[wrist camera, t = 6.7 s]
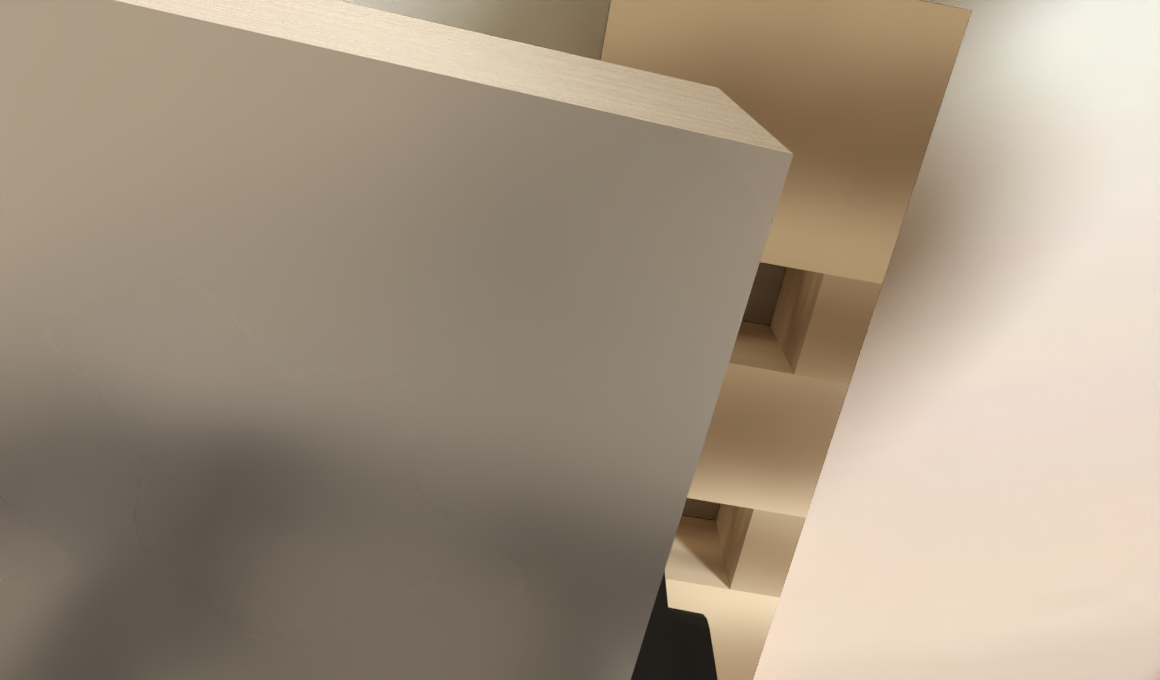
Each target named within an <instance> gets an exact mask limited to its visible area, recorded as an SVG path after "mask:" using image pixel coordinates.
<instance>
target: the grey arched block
mask: <svg viewBox="0 0 1160 680" xmlns="http://www.w3.org/2000/svg"><path fill="white" fill-rule="evenodd" d="M792 157H793V153H791V152H790V151H789V150H788V149H787V148H786V147H785V146H784V145H782V144H781V143H780V142H779V141H778V140H777V139H776V138H774V137H773V136H772V135H771V134H770V133H769V132H768V131H767V130H765V129H764V128H763V127H762V126H761V125H760V124H759V123H757V122H756V121H755V120H754V119H753V118H752V117H751V116H750V115H748V114H747V113H746V112H745V111H744V110H743V109H742V108H740V107H739V106H738V105H737V104H736V103H735V102H734V101H733V100H731V99H730V98H729V97H728V96H727V95H726V94H725V93H724V92H722V91H721V90H720V89H719V88H717V87H713V86H708V85H704V84H700V83H695V82H691V81H687V80H682V79H678V78H674V77H669V76H665V75H661V74H656V73H652V72H648V71H643V70H639V69H635V68H630V67H626V66H621V65H617V64H613V63H608V62H604V61H600V60H595V59H591V58H587V57H582V56H578V55H574V54H569V53H565V52H561V51H556V50H552V49H548V48H543V47H539V46H534V45H530V44H526V43H521V42H517V41H513V40H508V39H504V38H500V37H495V36H491V35H487V34H482V33H478V32H474V31H469V30H465V29H461V28H456V27H452V26H447V25H443V24H439V23H434V22H430V21H426V20H421V19H417V18H413V17H408V16H404V15H400V14H395V13H391V12H387V11H382V10H378V9H373V8H369V7H365V6H360V5H356V4H352V3H347V2H343V1H339V0H0V680H631V677H632V674H633V670H634V667H635V664H636V661H637V657H638V654H639V651H640V648H641V645H642V641H643V638H644V635H645V632H646V628H647V625H648V622H649V619H650V616H651V612H652V609H653V606H654V603H655V599H656V596H657V593H658V590H659V586H660V583H661V580H662V577H663V574H664V570H665V567H666V564H667V561H668V557H669V554H670V551H671V548H672V544H673V541H674V538H675V535H676V532H677V528H678V525H679V522H680V519H681V515H682V512H683V509H684V506H685V503H686V499H687V496H688V493H689V490H690V486H691V483H692V480H693V477H694V473H695V470H696V467H697V464H698V461H699V457H700V454H701V451H702V448H703V444H704V441H705V438H706V435H707V432H708V428H709V425H710V422H711V419H712V415H713V412H714V409H715V406H716V402H717V399H718V396H719V393H720V390H721V386H722V383H723V380H724V377H725V373H726V370H727V367H728V364H729V361H730V357H731V354H732V351H733V348H734V344H735V341H736V338H737V335H738V331H739V328H740V325H741V322H742V319H743V315H744V312H745V309H746V306H747V302H748V299H749V296H750V293H751V289H752V286H753V283H754V280H755V277H756V273H757V270H758V267H759V264H760V260H761V257H762V254H763V251H764V248H765V244H766V241H767V238H768V235H769V231H770V228H771V225H772V222H773V218H774V215H775V212H776V209H777V206H778V202H779V199H780V196H781V193H782V189H783V186H784V183H785V180H786V177H787V173H788V170H789V167H790V164H791V160H792Z"/></svg>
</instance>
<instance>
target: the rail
mask: <svg viewBox="0 0 1160 680" xmlns="http://www.w3.org/2000/svg"><path fill="white" fill-rule="evenodd" d="M971 12H972V10H967V9H961V8H956V7H951V6H946V5H941V4H936V3H930V2H925V1H920V0H611V3H610V9H609V14H608V20H607V26H606V31H605V37H604V43H603V48H602V54H601V59H600V61H604V62H608V63H613V64H617V65H621V66H626V67H630V68H635V69H639V70H643V71H648V72H652V73H656V74H661V75H665V76H669V77H674V78H678V79H682V80H687V81H691V82H695V83H700V84H704V85H708V86H713V87H717V88H719V89H720V90H721V91H722V92H724V93H725V94H726V95H727V96H728V97H729V98H730V99H731V100H733V101H734V102H735V103H736V104H737V105H738V106H739V107H740V108H742V109H743V110H744V111H745V112H746V113H747V114H748V115H750V116H751V117H752V118H753V119H754V120H755V121H756V122H757V123H759V124H760V125H761V126H762V127H763V128H764V129H765V130H767V131H768V132H769V133H770V134H771V135H772V136H773V137H774V138H776V139H777V140H778V141H779V142H780V143H781V144H782V145H784V146H785V147H786V148H787V149H788V150H789V151H790V152H791V153H793V157H792V160H791V164H790V167H789V170H788V173H787V177H786V180H785V183H784V186H783V189H782V193H781V196H780V199H779V202H778V206H777V209H776V212H775V215H774V218H773V222H772V225H771V228H770V231H769V235H768V238H767V241H766V244H765V248H764V251H763V254H762V257H761V260H760V262H762V263H768V264H773V265H779V266H784V267H787V269H786V272H785V276H784V279H783V283H782V287H781V290H780V294H779V297H778V301H777V304H776V308H775V311H774V315H773V319H772V322H771V326H767V325H761V324H756V323H750V322H744V321H742V322H741V325H740V328H739V331H738V335H737V338H736V341H735V344H734V348H733V351H732V354H731V357H730V361H729V364H728V367H727V370H726V373H725V377H724V380H723V383H722V386H721V390H720V393H719V396H718V399H717V402H716V406H715V409H714V412H713V415H712V419H711V422H710V425H709V428H708V432H707V435H706V438H705V441H704V444H703V448H702V451H701V454H700V457H699V461H698V464H697V467H696V470H695V473H694V477H693V480H692V483H691V486H690V490H689V493H688V496H687V498H691V499H697V500H703V501H709V502H715V503H721V504H720V508H719V511H718V515H717V518H716V521H713V520H707V519H701V518H695V517H689V516H683V515H681V519H680V522H679V525H678V528H677V532H676V535H675V538H674V541H673V544H672V548H671V551H670V554H669V557H668V561H667V564H666V567H665V580H666V590H667V600H668V607H670V608H675V609H680V610H685V611H690V612H695V613H701V614H704V616H705V617H706V618H707V620H708V624H709V628H710V634H711V640H712V646H713V653H714V659H715V665H716V671H717V678H718V680H753V678H754V675H755V672H756V669H757V666H758V662H759V659H760V656H761V653H762V650H763V647H764V644H765V641H766V638H767V635H768V632H769V629H770V626H771V623H772V620H773V617H774V614H775V611H776V607H777V604H778V601H779V598H780V595H781V592H782V589H783V586H784V583H785V580H786V577H787V574H788V571H789V568H790V565H791V562H792V559H793V555H794V552H795V549H796V546H797V543H798V540H799V537H800V534H801V531H802V528H803V525H804V522H805V519H806V516H807V513H808V510H809V507H810V504H811V500H812V497H813V494H814V491H815V488H816V485H817V482H818V479H819V476H820V473H821V470H822V467H823V464H824V461H825V458H826V455H827V452H828V449H829V445H830V442H831V439H832V436H833V433H834V430H835V427H836V424H837V421H838V418H839V415H840V412H841V409H842V406H843V403H844V400H845V397H846V394H847V390H848V387H849V384H850V381H851V378H852V375H853V372H854V369H855V366H856V363H857V360H858V357H859V354H860V351H861V348H862V345H863V342H864V339H865V335H866V332H867V329H868V326H869V323H870V320H871V317H872V314H873V311H874V308H875V305H876V302H877V299H878V296H879V293H880V290H881V287H882V284H883V280H884V277H885V274H886V271H887V268H888V265H889V262H890V259H891V256H892V253H893V250H894V247H895V244H896V241H897V238H898V235H899V232H900V228H901V225H902V222H903V219H904V216H905V213H906V210H907V207H908V204H909V201H910V198H911V195H912V192H913V189H914V186H915V183H916V180H917V177H918V173H919V170H920V167H921V164H922V161H923V158H924V155H925V152H926V149H927V146H928V143H929V140H930V137H931V134H932V131H933V128H934V125H935V122H936V118H937V115H938V112H939V109H940V106H941V103H942V100H943V97H944V94H945V91H946V88H947V85H948V82H949V79H950V76H951V73H952V70H953V67H954V63H955V60H956V57H957V54H958V51H959V48H960V45H961V42H962V39H963V36H964V33H965V30H966V27H967V24H968V21H969V18H970V15H971Z"/></svg>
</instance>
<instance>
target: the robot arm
mask: <svg viewBox="0 0 1160 680" xmlns="http://www.w3.org/2000/svg"><path fill="white" fill-rule="evenodd" d="M631 680H718V678H717V671H716V665H715V659H714V653H713V646H712V640H711V634H710V628H709V624H708V620H707V618H706V617H705V616H704V614H701V613H695V612H690V611H685V610H680V609H675V608H670V607H668V600H667V590H666V580H665V570H664V574H663V577H662V580H661V583H660V586H659V590H658V593H657V596H656V599H655V603H654V606H653V609H652V612H651V616H650V619H649V622H648V625H647V628H646V632H645V635H644V638H643V641H642V645H641V648H640V651H639V654H638V657H637V661H636V664H635V667H634V670H633V674H632V677H631Z"/></svg>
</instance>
